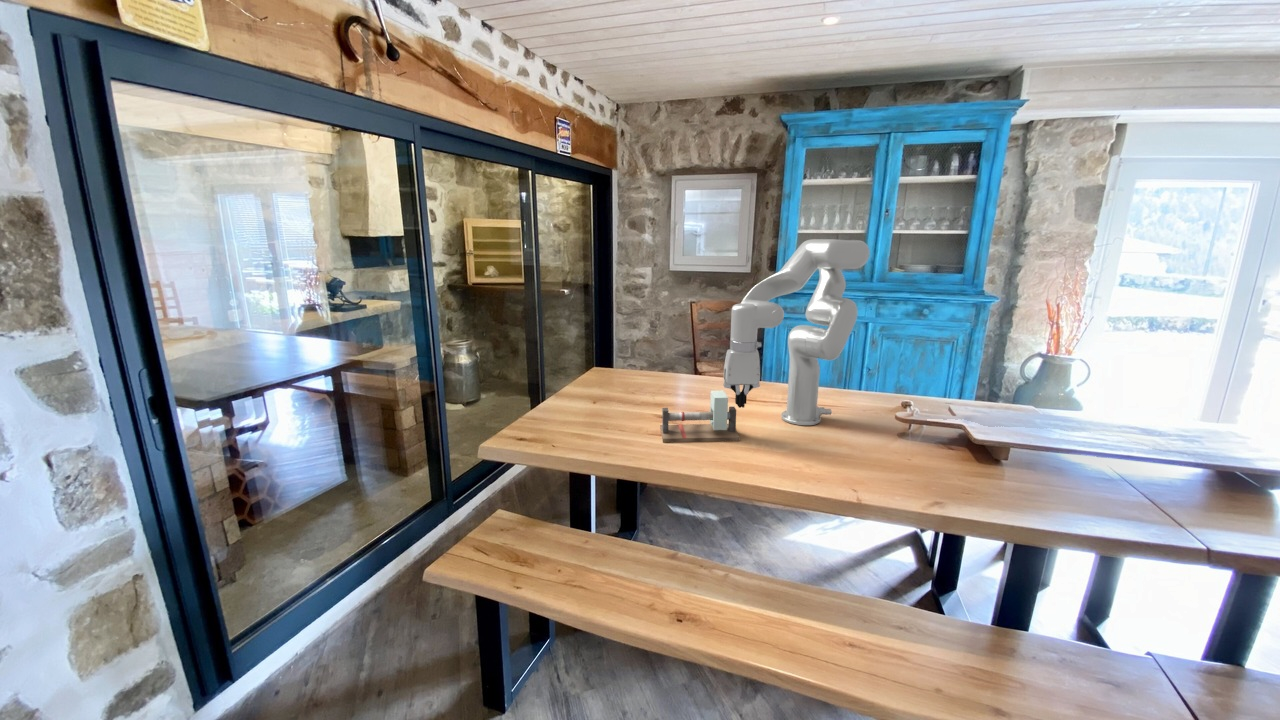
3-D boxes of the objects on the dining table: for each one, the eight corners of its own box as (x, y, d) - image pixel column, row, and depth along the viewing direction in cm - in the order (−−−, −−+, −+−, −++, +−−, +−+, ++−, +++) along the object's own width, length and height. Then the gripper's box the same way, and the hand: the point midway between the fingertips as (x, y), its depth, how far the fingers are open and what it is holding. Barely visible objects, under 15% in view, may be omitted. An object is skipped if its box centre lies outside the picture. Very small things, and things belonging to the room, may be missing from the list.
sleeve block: (722, 421, 157) (723, 390, 155) (726, 429, 151) (728, 397, 148) (709, 421, 157) (710, 390, 155) (713, 430, 151) (714, 397, 148)
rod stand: (731, 427, 160) (732, 402, 158) (739, 440, 149) (740, 414, 147) (660, 428, 160) (660, 403, 158) (662, 442, 149) (662, 415, 147)
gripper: (765, 343, 149) (761, 401, 154) (715, 344, 149) (713, 402, 153) (772, 348, 142) (768, 410, 147) (720, 349, 142) (718, 410, 146)
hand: (740, 406), depth 150 cm, fingers closed
